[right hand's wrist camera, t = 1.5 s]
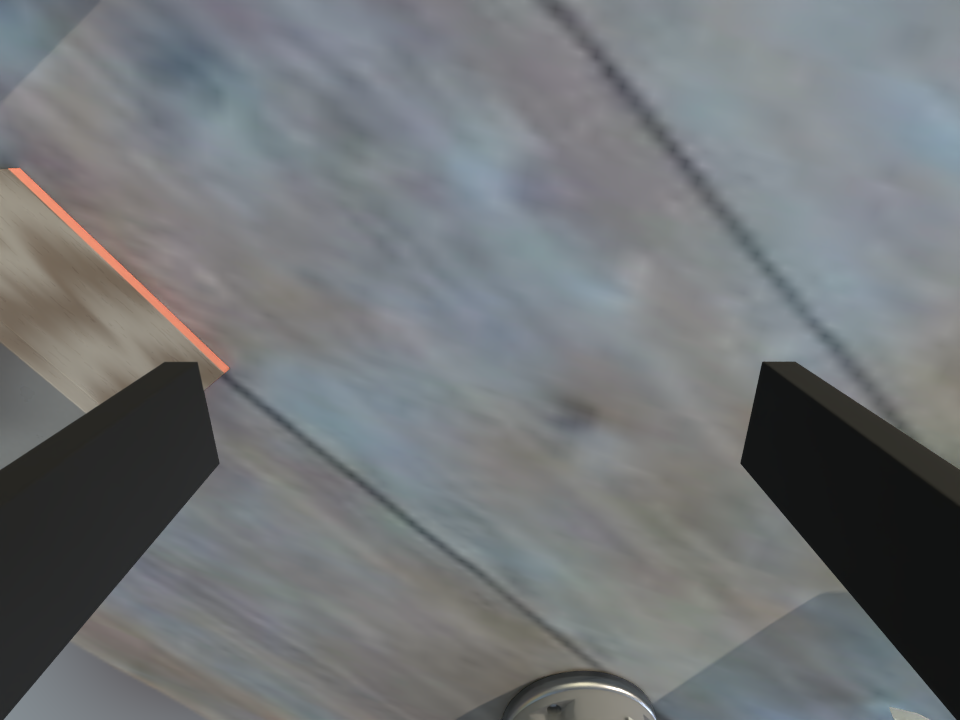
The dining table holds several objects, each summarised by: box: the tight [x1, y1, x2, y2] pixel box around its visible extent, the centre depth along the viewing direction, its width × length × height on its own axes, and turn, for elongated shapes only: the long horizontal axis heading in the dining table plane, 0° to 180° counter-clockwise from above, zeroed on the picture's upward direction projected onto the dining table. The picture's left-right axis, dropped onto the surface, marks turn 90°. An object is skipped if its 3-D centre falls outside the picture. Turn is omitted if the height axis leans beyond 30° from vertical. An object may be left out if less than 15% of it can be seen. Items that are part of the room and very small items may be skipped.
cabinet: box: [0, 168, 230, 470], centre depth 31 cm, size 18×10×11 cm, turn 38°
